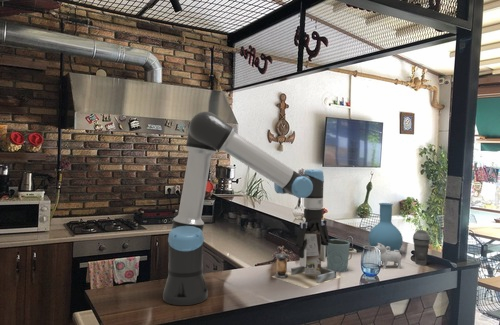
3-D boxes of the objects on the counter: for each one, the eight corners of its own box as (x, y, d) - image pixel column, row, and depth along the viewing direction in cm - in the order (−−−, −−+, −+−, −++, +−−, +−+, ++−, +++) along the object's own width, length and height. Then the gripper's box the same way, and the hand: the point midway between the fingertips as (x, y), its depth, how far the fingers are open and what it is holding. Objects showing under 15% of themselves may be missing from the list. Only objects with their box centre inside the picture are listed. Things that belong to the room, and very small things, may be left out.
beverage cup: (422, 267, 174) (423, 222, 173) (408, 263, 180) (409, 219, 180) (433, 264, 178) (433, 221, 177) (418, 261, 184) (419, 218, 183)
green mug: (337, 264, 176) (338, 238, 176) (354, 270, 168) (355, 242, 167) (320, 267, 171) (321, 240, 170) (337, 273, 162) (338, 245, 162)
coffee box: (321, 275, 150) (320, 233, 149) (304, 274, 151) (303, 233, 150) (321, 267, 159) (320, 228, 158) (305, 266, 160) (304, 228, 159)
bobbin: (281, 279, 151) (281, 257, 151) (272, 276, 155) (272, 254, 154) (290, 276, 154) (290, 255, 154) (281, 273, 158) (281, 252, 158)
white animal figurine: (370, 265, 175) (370, 242, 175) (397, 265, 176) (398, 241, 176) (374, 269, 170) (375, 244, 170) (403, 268, 171) (403, 244, 171)
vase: (366, 254, 196) (367, 204, 195) (369, 247, 211) (370, 201, 210) (402, 257, 189) (403, 206, 189) (402, 250, 205) (403, 202, 204)
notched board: (306, 291, 141) (306, 281, 141) (271, 278, 154) (271, 270, 154) (342, 279, 155) (343, 270, 155) (308, 268, 169) (308, 260, 169)
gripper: (300, 211, 144) (299, 270, 144) (339, 207, 159) (338, 260, 160) (286, 209, 150) (285, 266, 150) (324, 205, 165) (323, 256, 165)
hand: (312, 263), depth 155 cm, fingers closed on coffee box, 11 cm apart
